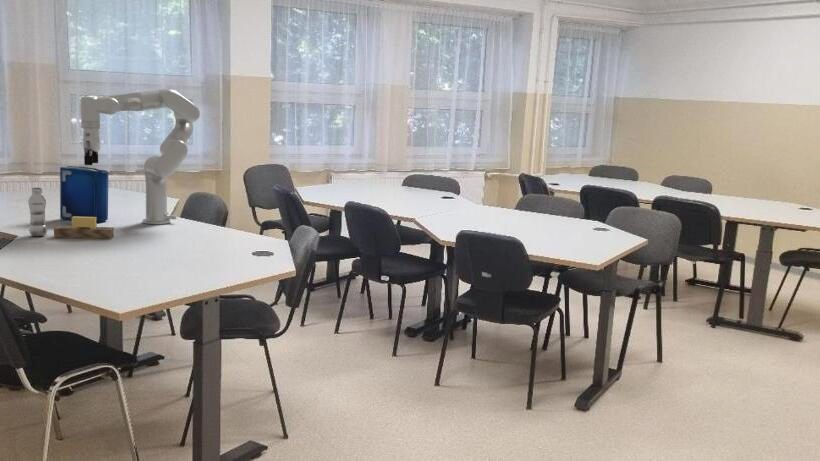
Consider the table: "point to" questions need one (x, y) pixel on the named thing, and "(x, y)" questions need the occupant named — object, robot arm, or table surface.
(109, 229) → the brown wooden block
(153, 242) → the table surface
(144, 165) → the robot arm
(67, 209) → the book
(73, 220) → the yellow notched flat block
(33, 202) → the plastic bottle
